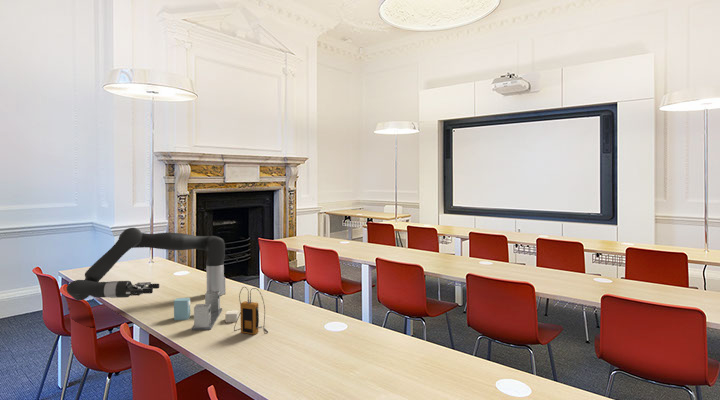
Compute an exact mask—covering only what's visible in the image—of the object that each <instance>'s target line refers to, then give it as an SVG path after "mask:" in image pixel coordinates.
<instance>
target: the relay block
mask: <svg viewBox="0 0 720 400" xmlns="http://www.w3.org/2000/svg"><path fill="white" fill-rule="evenodd" d="M238 317H239V309H233V310H227V311H226V312H225V321H224V322H225V323H236V321H237V322H238V320H239V318H238ZM237 319H238V320H237Z"/></svg>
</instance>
